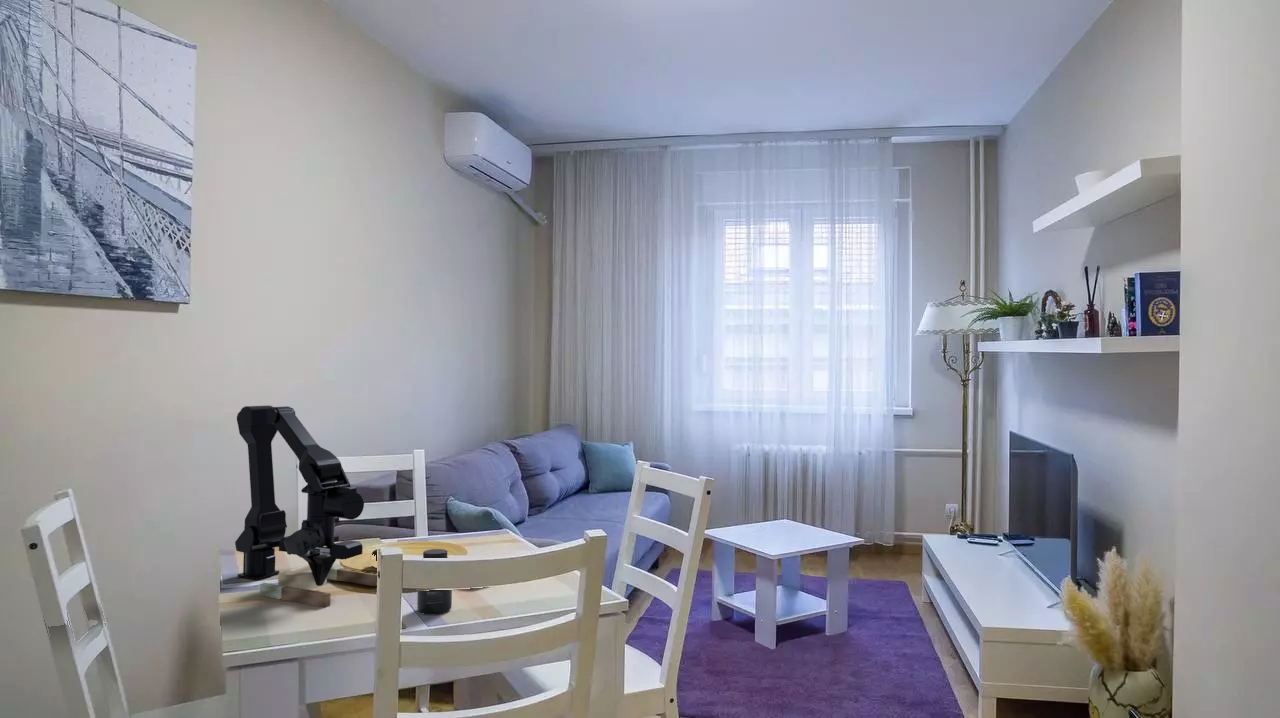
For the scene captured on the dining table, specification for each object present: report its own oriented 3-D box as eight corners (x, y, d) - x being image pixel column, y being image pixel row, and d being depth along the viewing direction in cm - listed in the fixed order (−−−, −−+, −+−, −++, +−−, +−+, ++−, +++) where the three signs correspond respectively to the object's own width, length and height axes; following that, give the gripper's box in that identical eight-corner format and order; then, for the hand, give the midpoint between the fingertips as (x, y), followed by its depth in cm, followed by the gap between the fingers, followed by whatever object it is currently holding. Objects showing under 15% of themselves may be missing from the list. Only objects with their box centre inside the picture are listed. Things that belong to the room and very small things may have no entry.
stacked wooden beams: (259, 595, 163) (259, 584, 163) (320, 576, 179) (320, 565, 179) (325, 607, 156) (326, 594, 156) (382, 585, 172) (382, 574, 172)
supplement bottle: (458, 607, 158) (459, 549, 158) (439, 617, 152) (440, 556, 152) (429, 603, 160) (431, 546, 160) (409, 613, 154) (411, 553, 154)
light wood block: (277, 591, 167) (278, 573, 167) (305, 582, 174) (306, 564, 174) (299, 595, 165) (299, 576, 165) (326, 585, 172) (327, 567, 172)
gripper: (259, 517, 164) (257, 590, 164) (327, 525, 157) (325, 601, 157) (299, 508, 174) (297, 577, 174) (365, 515, 168) (363, 586, 167)
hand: (319, 585), depth 168 cm, fingers closed
